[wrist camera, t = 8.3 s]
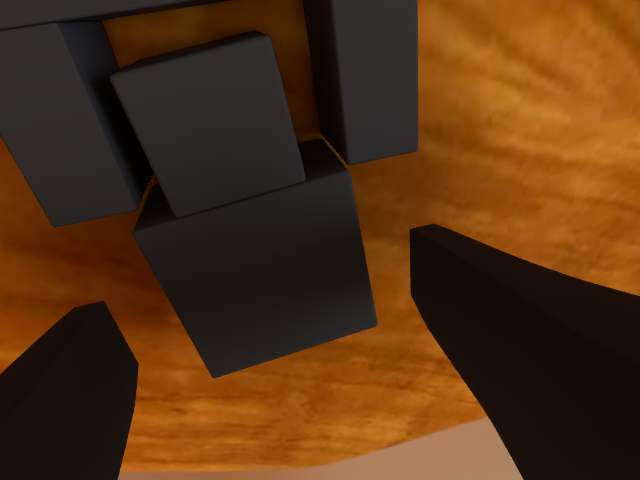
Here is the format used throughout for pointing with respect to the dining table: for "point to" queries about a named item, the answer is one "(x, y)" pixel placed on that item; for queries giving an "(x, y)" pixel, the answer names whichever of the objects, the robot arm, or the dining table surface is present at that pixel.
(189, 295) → the pad
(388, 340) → the dining table surface
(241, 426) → the dining table surface
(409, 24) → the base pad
